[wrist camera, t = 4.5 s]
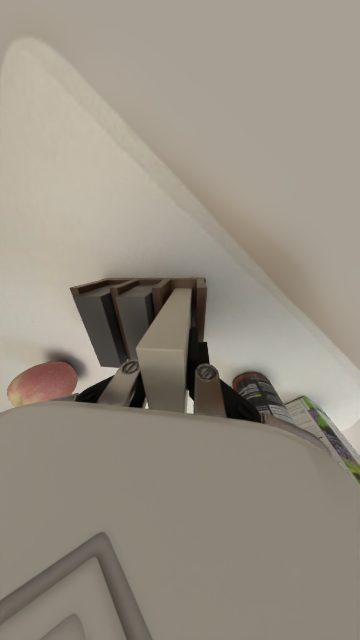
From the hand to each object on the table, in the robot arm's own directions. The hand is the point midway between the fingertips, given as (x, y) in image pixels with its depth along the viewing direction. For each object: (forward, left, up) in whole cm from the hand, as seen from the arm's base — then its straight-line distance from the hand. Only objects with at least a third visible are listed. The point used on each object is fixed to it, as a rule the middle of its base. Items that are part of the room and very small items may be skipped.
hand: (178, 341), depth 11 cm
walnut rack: (+4, 0, -7) cm, 8 cm away
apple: (+23, +12, -7) cm, 27 cm away
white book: (0, 0, -6) cm, 6 cm away
